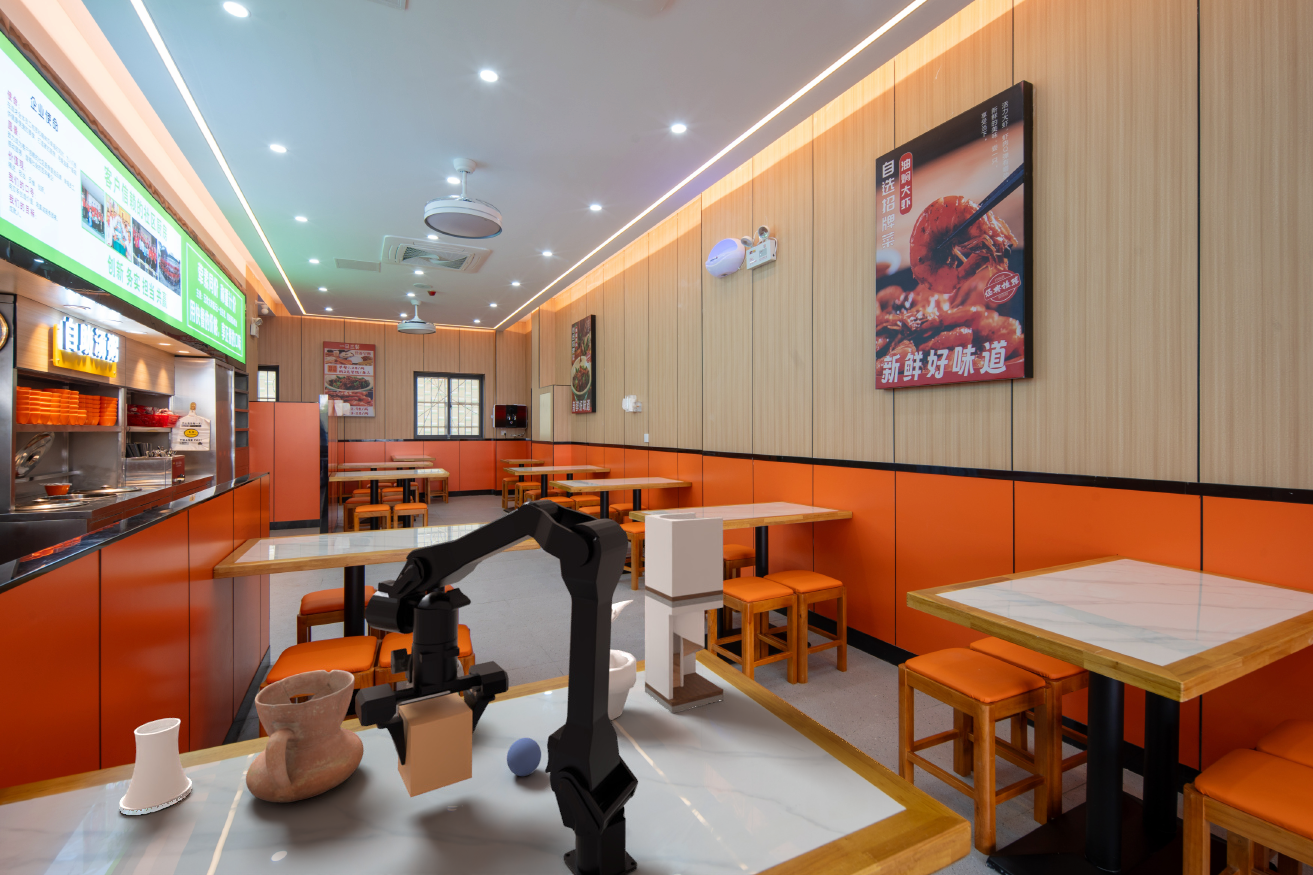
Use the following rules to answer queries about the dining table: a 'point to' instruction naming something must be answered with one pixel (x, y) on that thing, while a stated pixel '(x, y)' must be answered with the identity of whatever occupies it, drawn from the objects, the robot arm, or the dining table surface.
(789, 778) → the dining table surface
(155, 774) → the vase
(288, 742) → the ceramic jug
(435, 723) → the tan wooden brick
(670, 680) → the white coffee grinder
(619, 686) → the potted plant
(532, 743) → the ball
